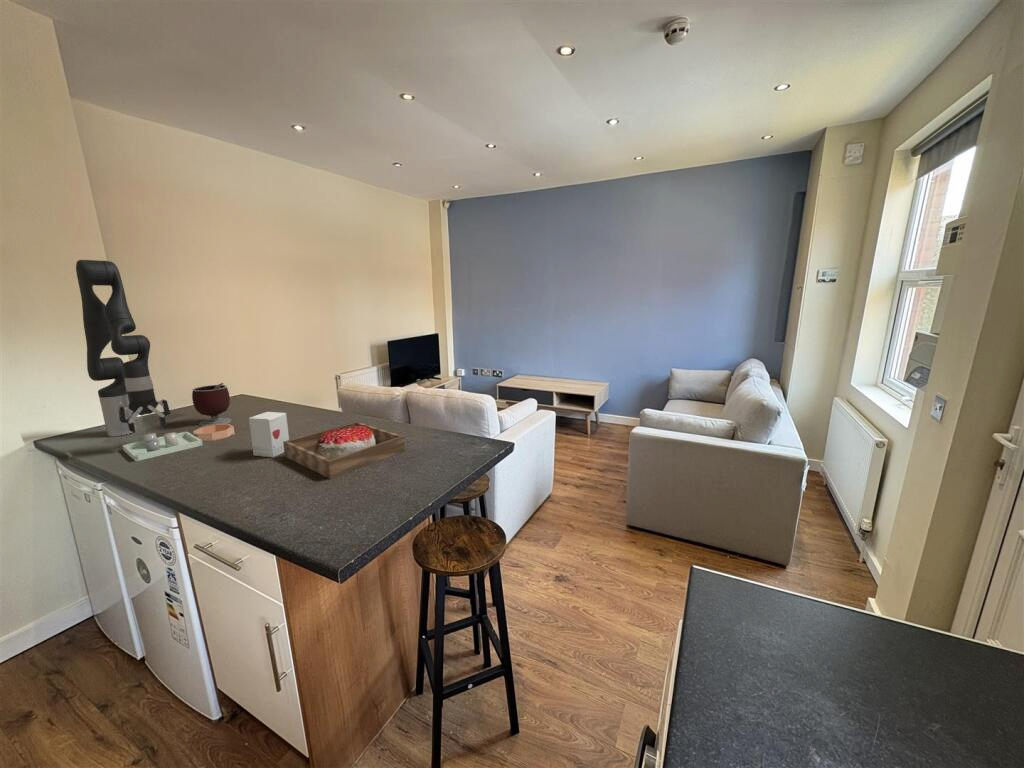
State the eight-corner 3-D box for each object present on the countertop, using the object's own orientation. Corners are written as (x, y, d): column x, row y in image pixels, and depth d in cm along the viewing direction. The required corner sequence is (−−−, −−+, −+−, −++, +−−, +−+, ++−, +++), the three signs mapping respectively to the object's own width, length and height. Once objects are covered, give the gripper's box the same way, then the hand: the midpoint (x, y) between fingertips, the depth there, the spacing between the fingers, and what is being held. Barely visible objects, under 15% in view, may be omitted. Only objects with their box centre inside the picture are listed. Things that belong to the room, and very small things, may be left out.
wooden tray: (285, 456, 149) (283, 441, 148) (357, 434, 173) (356, 421, 172) (330, 479, 131) (328, 461, 130) (404, 451, 155) (404, 436, 154)
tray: (123, 452, 153) (122, 445, 152) (188, 438, 169) (186, 431, 168) (135, 463, 143) (134, 456, 142) (203, 447, 158) (202, 440, 158)
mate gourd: (189, 426, 185) (182, 383, 180) (218, 417, 198) (212, 377, 193) (214, 429, 180) (207, 386, 176) (242, 420, 193) (236, 379, 189)
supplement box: (273, 458, 148) (268, 419, 145) (252, 456, 150) (247, 417, 147) (291, 449, 157) (286, 412, 154) (271, 447, 159) (266, 411, 156)
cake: (354, 439, 169) (352, 416, 167) (387, 453, 154) (386, 428, 152) (297, 455, 151) (294, 430, 149) (329, 473, 136) (326, 445, 134)
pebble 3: (164, 446, 157) (162, 434, 156) (176, 443, 160) (174, 431, 159) (167, 448, 155) (165, 436, 153) (179, 445, 158) (177, 433, 156)
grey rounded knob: (146, 454, 149) (143, 441, 148) (159, 451, 152) (157, 438, 151) (149, 456, 147) (146, 443, 145) (162, 453, 150) (160, 440, 148)
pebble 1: (144, 447, 156) (141, 434, 155) (156, 444, 159) (154, 432, 158) (146, 449, 154) (144, 436, 153) (159, 446, 157) (157, 434, 156)
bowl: (191, 438, 168) (189, 429, 167) (226, 430, 178) (225, 422, 177) (202, 445, 161) (200, 435, 160) (238, 436, 171) (236, 427, 170)
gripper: (161, 384, 159) (168, 423, 162) (111, 390, 148) (121, 432, 151) (166, 386, 155) (174, 426, 158) (116, 393, 144) (125, 436, 147)
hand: (148, 429), depth 155 cm, fingers open, 8 cm apart
